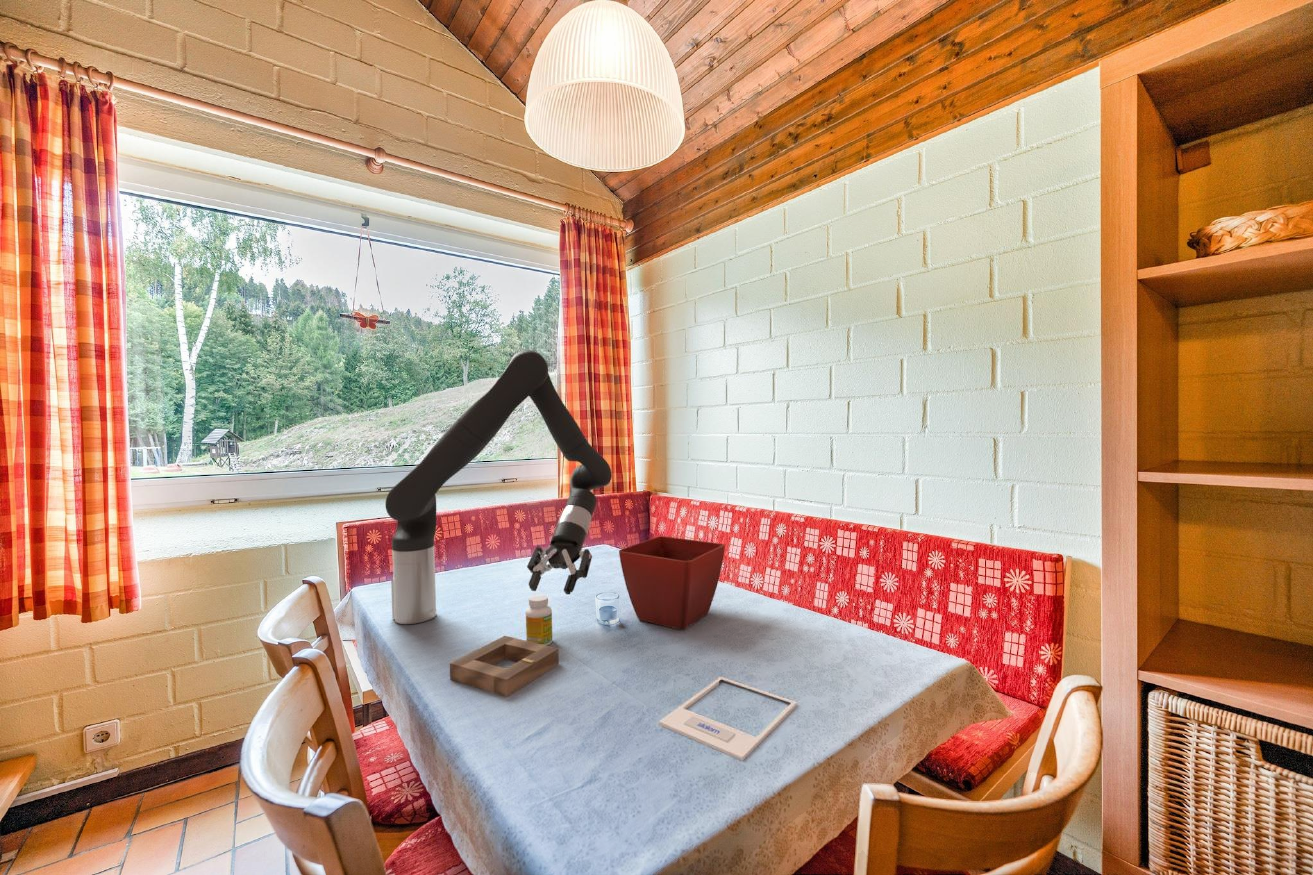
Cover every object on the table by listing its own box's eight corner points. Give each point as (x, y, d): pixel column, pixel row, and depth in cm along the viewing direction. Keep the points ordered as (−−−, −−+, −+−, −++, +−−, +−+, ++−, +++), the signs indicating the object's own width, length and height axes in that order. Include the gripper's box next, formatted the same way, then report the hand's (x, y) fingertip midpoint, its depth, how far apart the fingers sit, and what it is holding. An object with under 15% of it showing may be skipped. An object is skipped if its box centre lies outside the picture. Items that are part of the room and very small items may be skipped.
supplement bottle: (546, 649, 112) (545, 602, 112) (522, 647, 113) (521, 601, 113) (556, 638, 117) (555, 594, 117) (533, 637, 118) (531, 593, 118)
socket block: (450, 679, 100) (449, 661, 99) (505, 649, 112) (504, 634, 112) (506, 696, 93) (506, 678, 93) (558, 663, 105) (558, 647, 105)
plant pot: (727, 611, 132) (726, 543, 131) (689, 639, 116) (688, 561, 115) (661, 598, 142) (660, 535, 141) (617, 622, 126) (616, 550, 125)
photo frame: (658, 720, 84) (720, 675, 98) (659, 727, 84) (720, 681, 98) (742, 755, 75) (796, 701, 89) (742, 763, 75) (796, 707, 89)
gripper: (539, 518, 129) (514, 580, 119) (594, 521, 125) (572, 585, 114) (551, 536, 134) (527, 596, 124) (604, 539, 130) (584, 602, 119)
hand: (549, 591), depth 119 cm, fingers open, 8 cm apart
